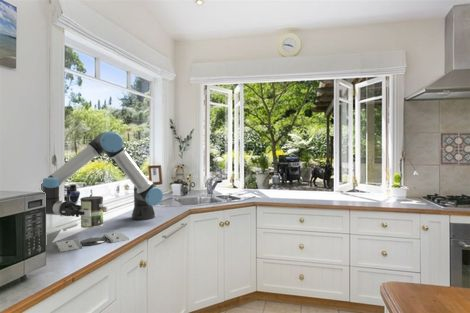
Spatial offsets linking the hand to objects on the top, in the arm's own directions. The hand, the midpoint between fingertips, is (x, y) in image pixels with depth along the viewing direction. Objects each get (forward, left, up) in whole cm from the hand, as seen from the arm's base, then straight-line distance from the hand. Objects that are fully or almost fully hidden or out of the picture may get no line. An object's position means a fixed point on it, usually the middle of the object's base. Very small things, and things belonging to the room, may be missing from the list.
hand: (98, 211), depth 156 cm
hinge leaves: (+2, -4, -16) cm, 16 cm away
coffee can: (+2, -4, -8) cm, 9 cm away
